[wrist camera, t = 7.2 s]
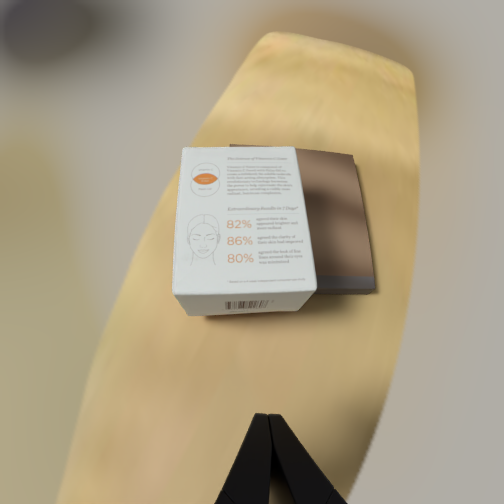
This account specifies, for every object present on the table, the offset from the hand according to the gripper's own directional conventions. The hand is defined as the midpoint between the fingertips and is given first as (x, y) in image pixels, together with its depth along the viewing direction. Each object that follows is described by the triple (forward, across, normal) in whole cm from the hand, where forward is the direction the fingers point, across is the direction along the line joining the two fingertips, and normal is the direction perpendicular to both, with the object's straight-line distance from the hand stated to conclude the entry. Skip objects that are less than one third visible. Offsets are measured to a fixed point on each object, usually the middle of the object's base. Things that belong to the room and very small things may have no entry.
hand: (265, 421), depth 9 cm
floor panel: (+19, -3, -3) cm, 20 cm away
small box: (+10, 0, +1) cm, 10 cm away
